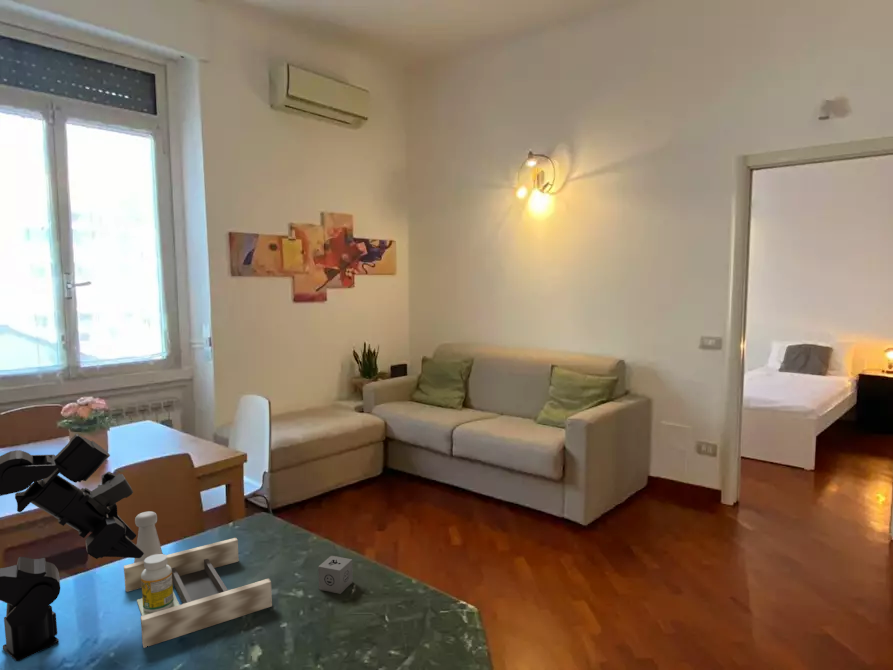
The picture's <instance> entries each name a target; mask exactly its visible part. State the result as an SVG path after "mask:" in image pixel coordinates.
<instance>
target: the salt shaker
mask: <svg viewBox="0 0 893 670" xmlns="http://www.w3.org/2000/svg"><path fill="white" fill-rule="evenodd" d="M134 518H135V519H134V523H135V526H136V527H138V531H137V540H136V545H137V546H138V547H139V548H140V549H141V550H142V551H143V552H144V554H143V556H142V557H141V558H133V559H134V560H133V561H134V562H133V563H137V562H141V561H144V560H145V559H146V558H147V557H149V556H151V555H155V554H164V553H163V549H162V546H161V542H160V539H159V535H158V531H157V527H156V524H157V522H158V514H157V513H156V512H155V511H150V510H148V511H143V512H140V513H138V514H137V515H136V517H134Z"/></svg>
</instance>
